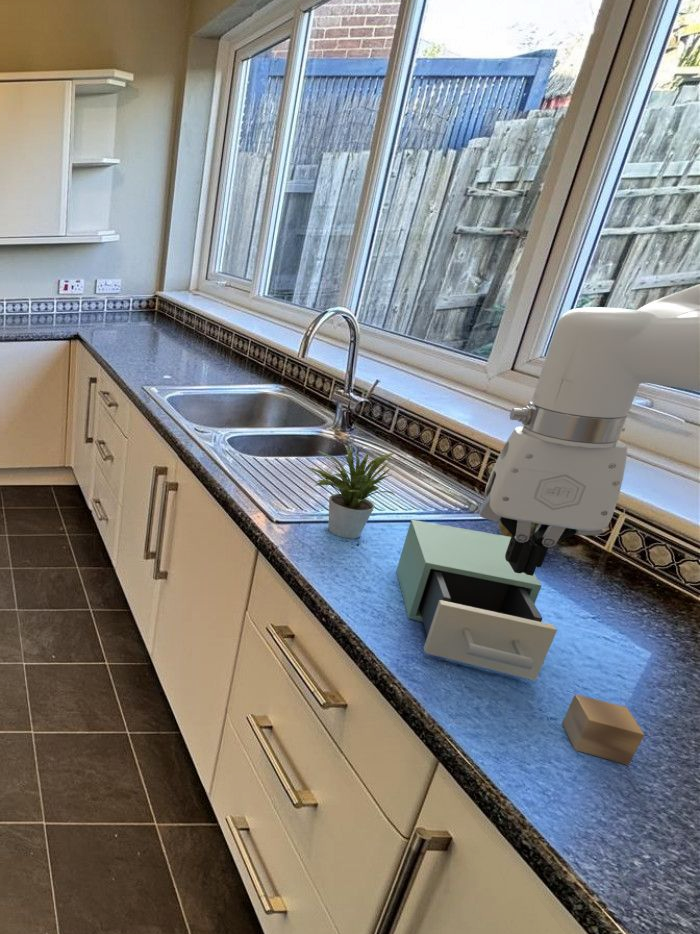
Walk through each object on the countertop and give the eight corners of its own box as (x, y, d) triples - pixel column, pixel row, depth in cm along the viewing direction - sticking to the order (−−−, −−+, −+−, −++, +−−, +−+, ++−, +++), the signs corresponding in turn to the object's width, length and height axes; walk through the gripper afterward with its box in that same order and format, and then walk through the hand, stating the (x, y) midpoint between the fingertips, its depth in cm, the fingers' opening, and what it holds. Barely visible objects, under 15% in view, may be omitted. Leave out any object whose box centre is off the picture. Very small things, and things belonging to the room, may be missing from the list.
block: (612, 737, 70) (627, 707, 68) (628, 765, 66) (645, 734, 65) (561, 723, 72) (574, 693, 70) (574, 750, 68) (589, 719, 67)
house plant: (335, 506, 125) (353, 430, 119) (407, 536, 113) (431, 454, 107) (286, 521, 119) (303, 442, 113) (357, 554, 107) (380, 468, 101)
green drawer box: (518, 644, 85) (541, 585, 81) (408, 618, 91) (425, 562, 87) (492, 590, 97) (511, 536, 93) (396, 570, 102) (411, 519, 99)
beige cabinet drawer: (548, 707, 73) (571, 654, 70) (430, 676, 78) (448, 625, 75) (507, 621, 88) (524, 575, 85) (410, 600, 93) (424, 555, 90)
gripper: (493, 425, 67) (448, 569, 74) (686, 445, 61) (618, 601, 67) (477, 406, 74) (437, 541, 80) (651, 422, 67) (592, 568, 73)
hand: (520, 568), depth 74 cm, fingers closed
